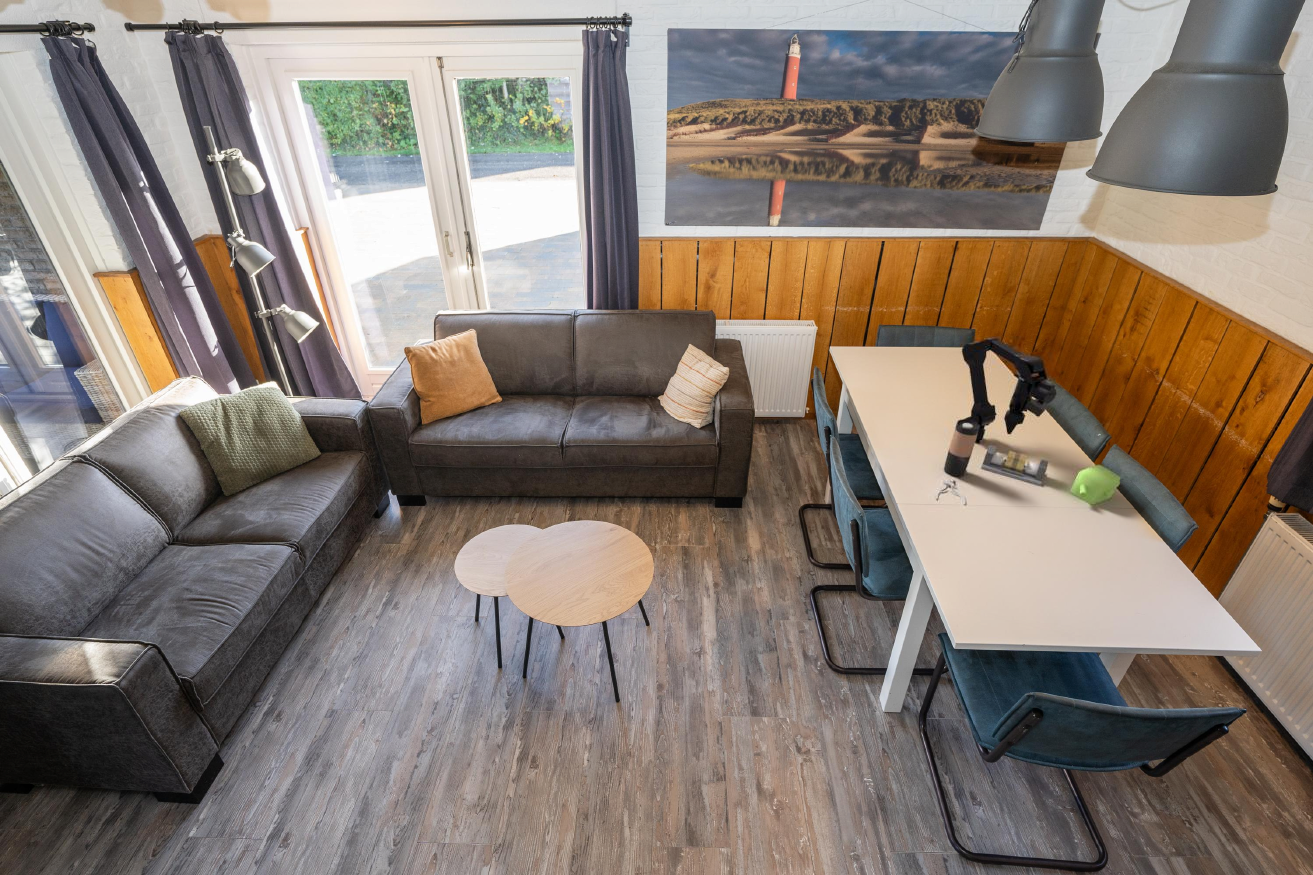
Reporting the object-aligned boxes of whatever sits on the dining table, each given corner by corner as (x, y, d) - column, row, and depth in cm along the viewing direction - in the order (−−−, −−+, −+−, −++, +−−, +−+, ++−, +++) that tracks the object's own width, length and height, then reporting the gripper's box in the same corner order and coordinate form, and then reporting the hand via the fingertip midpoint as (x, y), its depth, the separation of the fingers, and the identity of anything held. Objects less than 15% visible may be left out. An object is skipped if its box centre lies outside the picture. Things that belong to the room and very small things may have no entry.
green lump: (1086, 512, 225) (1097, 490, 220) (1060, 495, 233) (1070, 474, 227) (1120, 498, 232) (1131, 477, 227) (1094, 483, 239) (1104, 461, 234)
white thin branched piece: (935, 496, 228) (933, 473, 240) (934, 500, 229) (932, 477, 241) (966, 501, 226) (962, 478, 238) (965, 505, 226) (961, 482, 239)
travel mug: (965, 469, 246) (980, 422, 236) (964, 479, 240) (979, 431, 230) (943, 464, 248) (957, 417, 238) (942, 474, 242) (956, 426, 232)
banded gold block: (1022, 468, 245) (1027, 455, 243) (1021, 474, 242) (1025, 461, 239) (1005, 463, 248) (1009, 450, 245) (1003, 468, 245) (1007, 456, 242)
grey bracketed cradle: (980, 468, 246) (985, 454, 243) (985, 456, 254) (990, 442, 251) (1040, 485, 237) (1046, 471, 234) (1043, 473, 245) (1049, 459, 242)
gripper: (1045, 407, 230) (1031, 446, 238) (1050, 387, 244) (1037, 424, 252) (1010, 399, 235) (997, 437, 243) (1017, 380, 249) (1005, 416, 257)
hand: (1010, 428), depth 248 cm, fingers open, 9 cm apart
